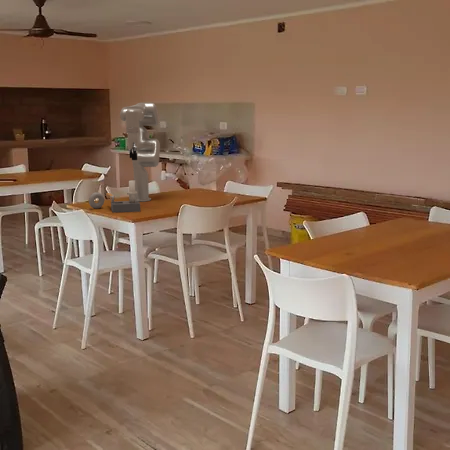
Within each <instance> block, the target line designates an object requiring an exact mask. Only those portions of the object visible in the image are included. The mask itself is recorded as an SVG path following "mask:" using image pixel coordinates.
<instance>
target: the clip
mask: <svg viewBox="0 0 450 450" xmlns="http://www.w3.org/2000/svg"><path fill="white" fill-rule="evenodd" d="M105 195H106V198H108V199H110V201H111V200H114V201H116V200H115V198H116V197H115V195H113V194H112V193H110V192H106V193H105Z"/></svg>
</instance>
